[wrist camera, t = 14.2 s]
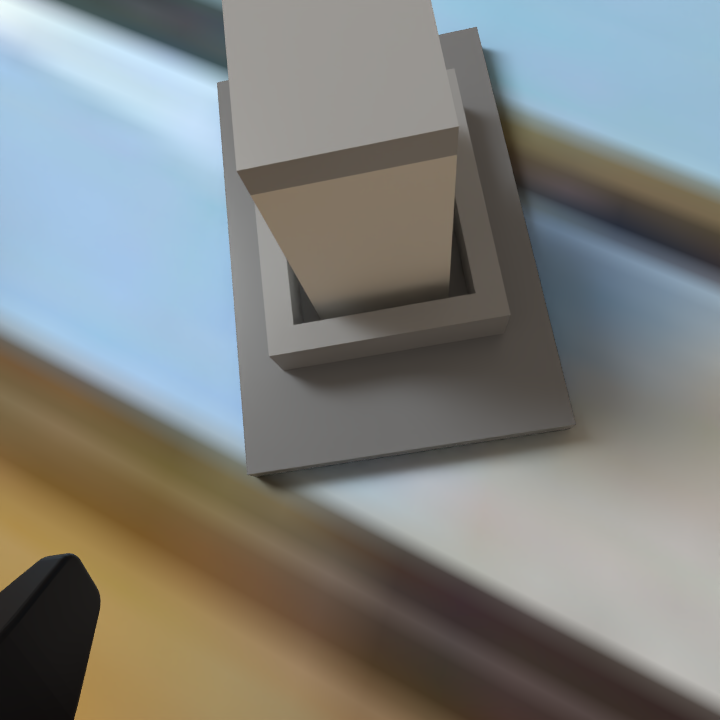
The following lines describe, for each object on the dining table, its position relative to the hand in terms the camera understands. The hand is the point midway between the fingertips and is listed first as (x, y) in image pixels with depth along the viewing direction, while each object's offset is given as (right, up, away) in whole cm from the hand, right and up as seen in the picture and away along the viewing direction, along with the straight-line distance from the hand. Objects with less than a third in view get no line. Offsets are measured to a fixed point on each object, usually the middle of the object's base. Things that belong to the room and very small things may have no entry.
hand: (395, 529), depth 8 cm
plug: (0, +8, +15) cm, 17 cm away
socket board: (0, +7, +16) cm, 18 cm away
